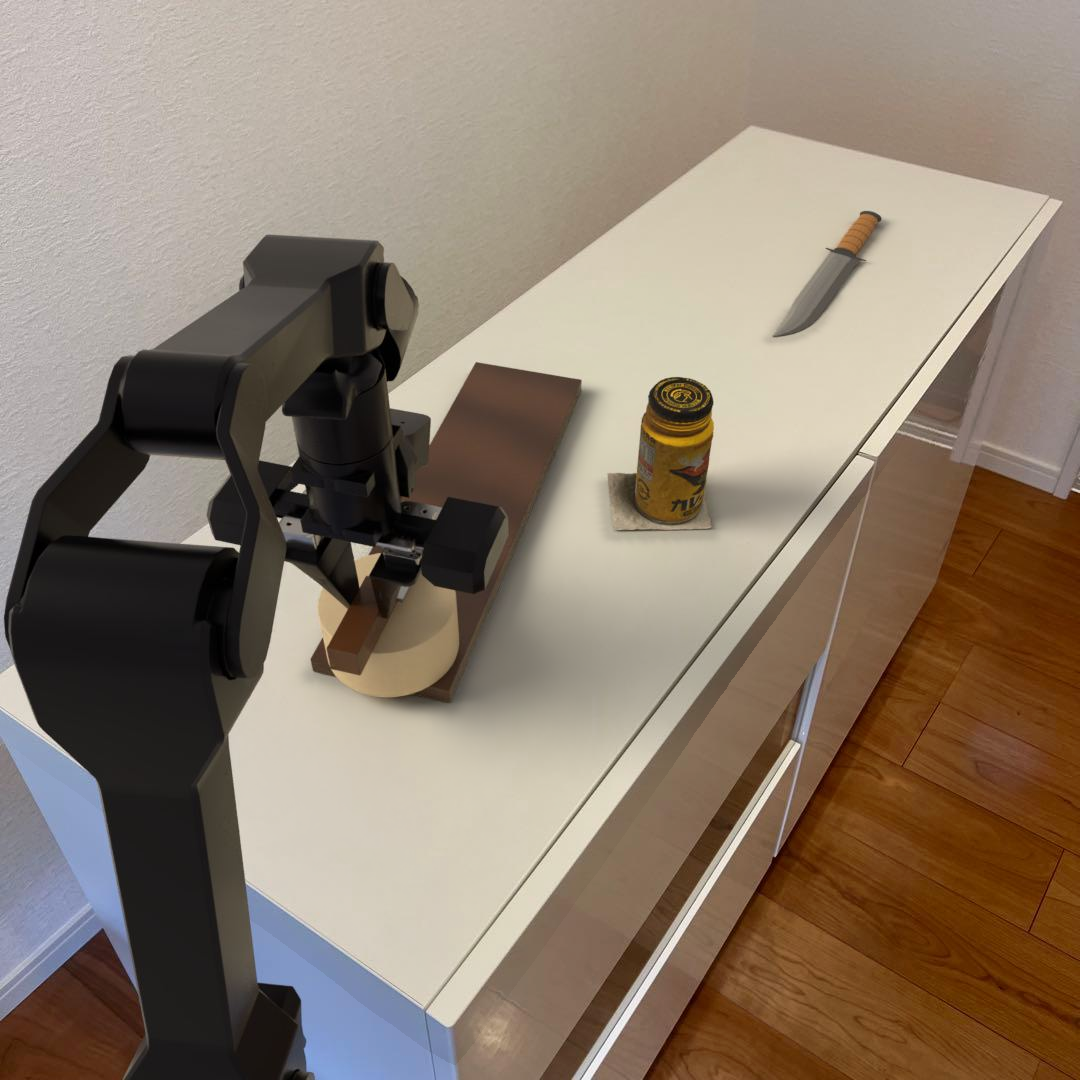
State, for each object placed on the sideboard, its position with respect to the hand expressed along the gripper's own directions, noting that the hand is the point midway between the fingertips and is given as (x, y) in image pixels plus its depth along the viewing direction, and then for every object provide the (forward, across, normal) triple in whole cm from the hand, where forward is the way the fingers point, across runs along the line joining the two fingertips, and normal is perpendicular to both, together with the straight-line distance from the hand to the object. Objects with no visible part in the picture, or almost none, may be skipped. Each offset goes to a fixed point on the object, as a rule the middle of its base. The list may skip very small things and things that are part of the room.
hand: (371, 610), depth 75 cm
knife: (+8, -28, -69) cm, 75 cm away
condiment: (+8, -16, -26) cm, 31 cm away
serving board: (+8, 0, -20) cm, 21 cm away
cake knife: (+1, 0, -2) cm, 3 cm away
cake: (+7, 0, -3) cm, 7 cm away
